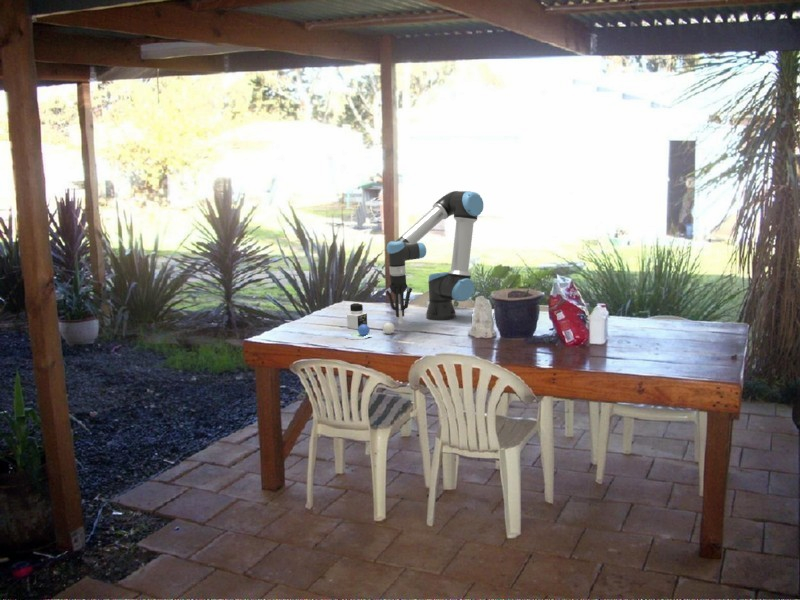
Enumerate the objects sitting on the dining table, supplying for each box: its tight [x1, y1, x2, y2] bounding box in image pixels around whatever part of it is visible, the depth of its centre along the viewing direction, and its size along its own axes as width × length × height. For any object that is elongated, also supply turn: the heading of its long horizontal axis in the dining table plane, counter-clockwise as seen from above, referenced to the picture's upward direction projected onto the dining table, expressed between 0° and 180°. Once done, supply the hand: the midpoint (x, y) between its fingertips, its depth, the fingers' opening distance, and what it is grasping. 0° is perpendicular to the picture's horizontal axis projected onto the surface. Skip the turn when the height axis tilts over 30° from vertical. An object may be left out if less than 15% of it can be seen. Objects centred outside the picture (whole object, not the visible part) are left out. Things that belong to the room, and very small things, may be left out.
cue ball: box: [382, 321, 395, 335], centre depth 386 cm, size 6×6×6 cm
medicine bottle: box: [346, 302, 368, 330], centre depth 401 cm, size 7×7×12 cm
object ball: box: [357, 324, 370, 336], centre depth 384 cm, size 6×6×6 cm
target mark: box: [349, 332, 371, 340], centre depth 384 cm, size 14×14×1 cm
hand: (400, 323), depth 388 cm, fingers closed
